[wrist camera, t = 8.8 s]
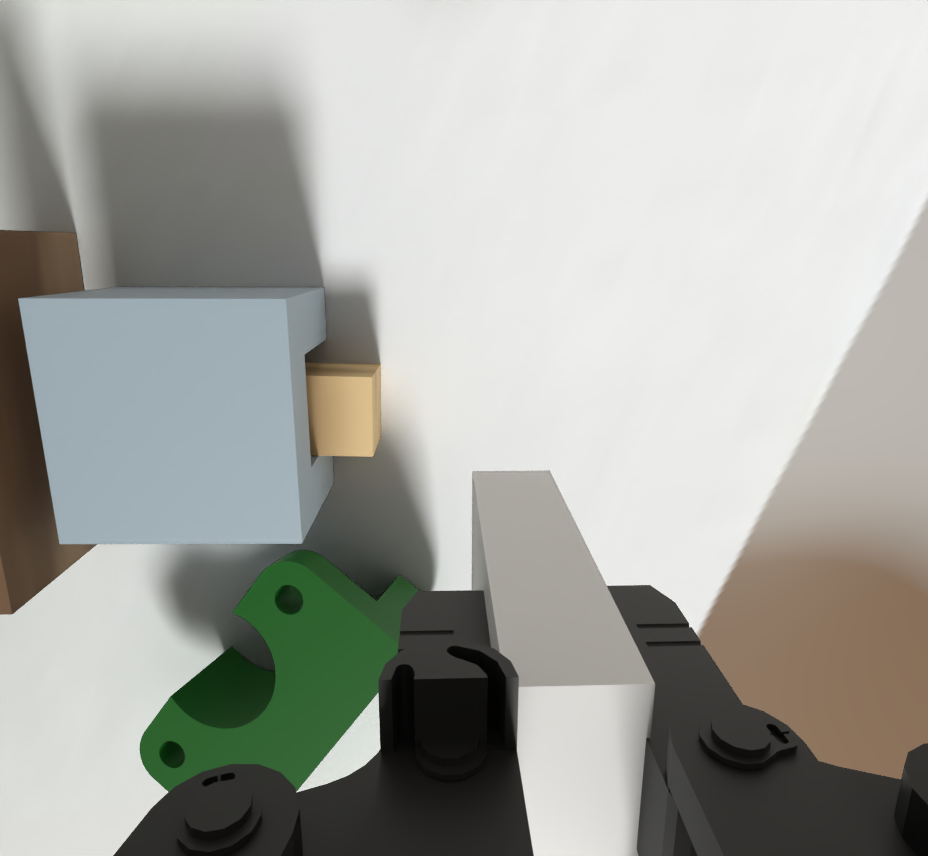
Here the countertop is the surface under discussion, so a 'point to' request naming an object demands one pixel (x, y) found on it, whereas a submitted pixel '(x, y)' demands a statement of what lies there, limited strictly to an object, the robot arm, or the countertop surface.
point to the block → (178, 413)
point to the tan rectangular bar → (343, 408)
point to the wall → (28, 419)
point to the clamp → (282, 677)
